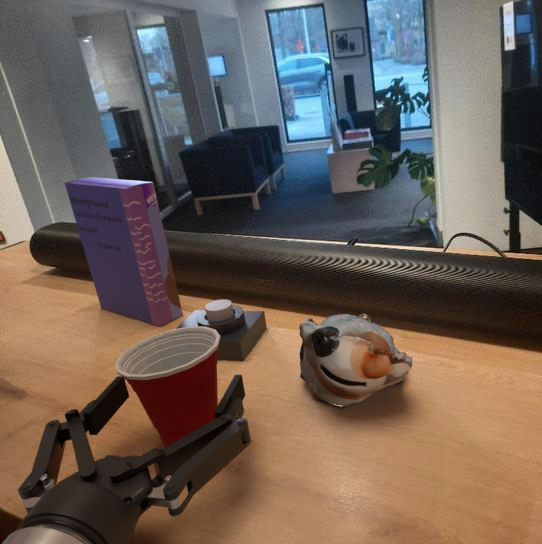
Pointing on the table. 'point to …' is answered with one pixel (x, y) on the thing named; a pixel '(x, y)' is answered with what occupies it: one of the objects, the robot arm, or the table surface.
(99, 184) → the cereal box
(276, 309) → the table surface
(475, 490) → the table surface
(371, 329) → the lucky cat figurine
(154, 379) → the plastic cup
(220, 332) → the push button base
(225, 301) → the white push button
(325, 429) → the table surface
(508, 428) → the table surface
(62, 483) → the robot arm
